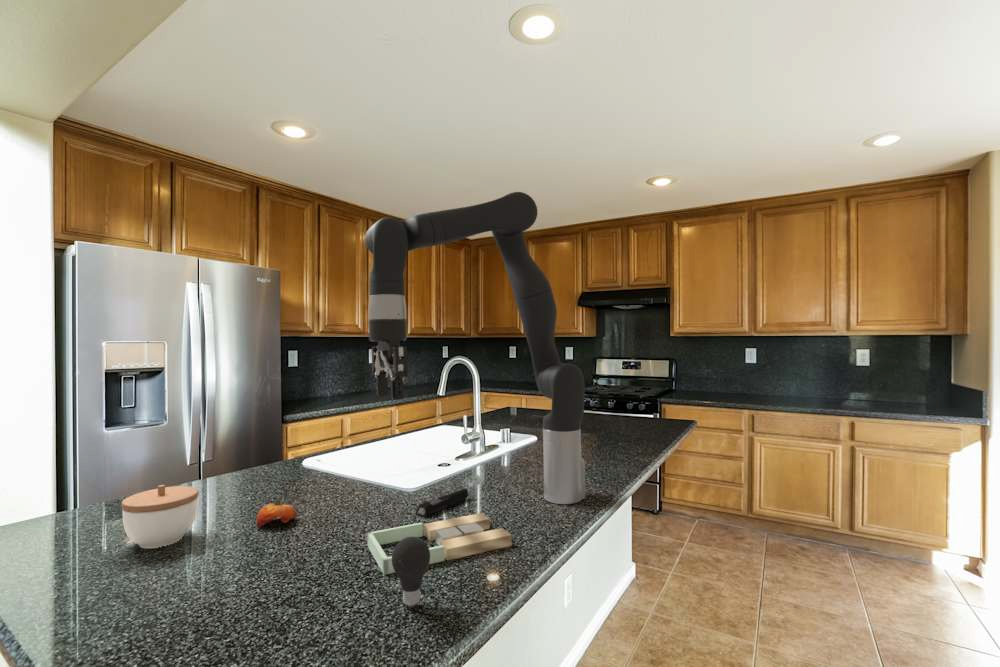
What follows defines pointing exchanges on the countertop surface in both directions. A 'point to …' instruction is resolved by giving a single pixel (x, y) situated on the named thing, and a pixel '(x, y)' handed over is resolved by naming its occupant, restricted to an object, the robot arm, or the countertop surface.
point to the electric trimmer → (441, 503)
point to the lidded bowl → (160, 515)
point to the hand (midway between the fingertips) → (389, 397)
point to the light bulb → (411, 567)
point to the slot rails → (469, 536)
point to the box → (393, 536)
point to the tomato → (275, 513)
